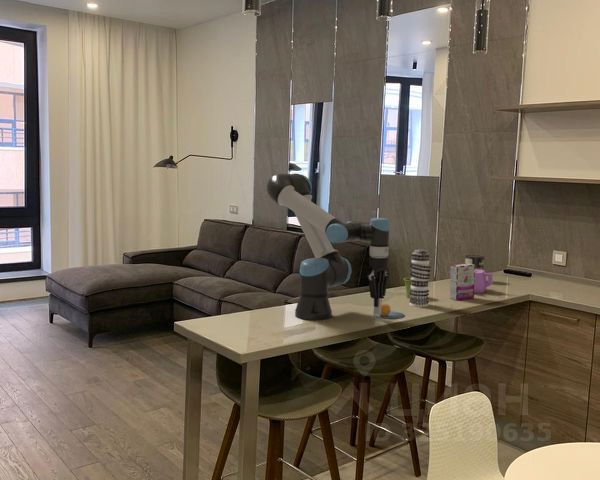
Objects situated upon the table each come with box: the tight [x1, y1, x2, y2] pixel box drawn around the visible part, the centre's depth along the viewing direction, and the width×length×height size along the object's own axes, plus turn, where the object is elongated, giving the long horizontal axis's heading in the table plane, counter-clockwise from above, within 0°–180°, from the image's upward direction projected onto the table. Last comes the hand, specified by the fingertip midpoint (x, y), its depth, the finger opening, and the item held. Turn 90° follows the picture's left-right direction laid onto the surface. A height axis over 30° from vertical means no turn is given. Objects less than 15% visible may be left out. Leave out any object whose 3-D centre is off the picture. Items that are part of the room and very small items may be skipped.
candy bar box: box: [449, 263, 475, 301], centre depth 291 cm, size 11×5×16 cm, turn 117°
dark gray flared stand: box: [464, 254, 485, 271], centre depth 341 cm, size 10×10×14 cm
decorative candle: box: [408, 248, 432, 308], centre depth 275 cm, size 9×9×25 cm
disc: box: [372, 310, 406, 320], centre depth 255 cm, size 13×13×1 cm
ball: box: [380, 302, 391, 316], centre depth 253 cm, size 6×6×6 cm
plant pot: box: [403, 277, 411, 299], centre depth 294 cm, size 9×9×9 cm
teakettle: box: [448, 269, 494, 295], centre depth 312 cm, size 17×17×12 cm
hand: (377, 314), depth 248 cm, fingers closed
